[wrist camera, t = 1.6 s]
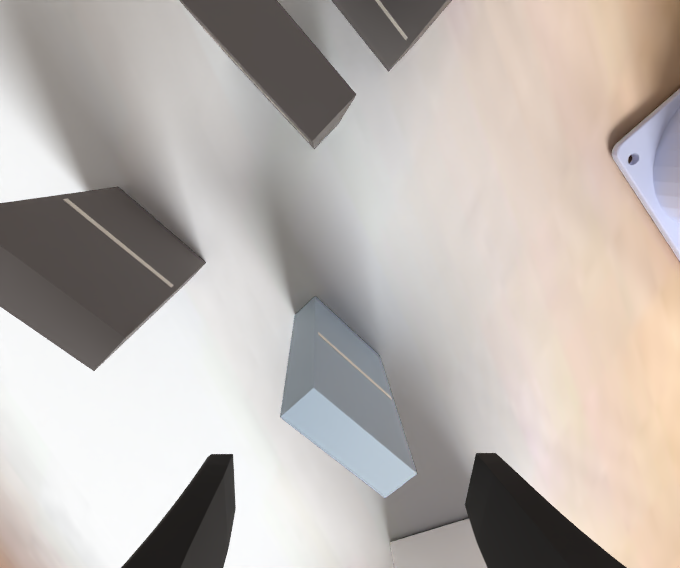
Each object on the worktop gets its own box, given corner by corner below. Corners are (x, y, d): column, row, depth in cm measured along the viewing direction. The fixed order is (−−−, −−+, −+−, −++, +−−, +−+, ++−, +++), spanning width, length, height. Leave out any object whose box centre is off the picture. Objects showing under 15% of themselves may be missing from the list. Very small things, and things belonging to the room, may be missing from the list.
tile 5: (118, 186, 17) (-48, 209, 9) (206, 262, 18) (126, 337, 10) (98, 210, 17) (-80, 252, 9) (185, 283, 18) (93, 371, 11)
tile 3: (252, 27, 15) (187, -108, 7) (338, 123, 16) (356, 94, 9) (228, 56, 15) (140, -44, 8) (314, 149, 17) (311, 142, 9)
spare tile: (315, 295, 19) (314, 387, 11) (380, 355, 20) (417, 473, 13) (294, 315, 19) (279, 417, 12) (359, 373, 20) (384, 498, 13)
